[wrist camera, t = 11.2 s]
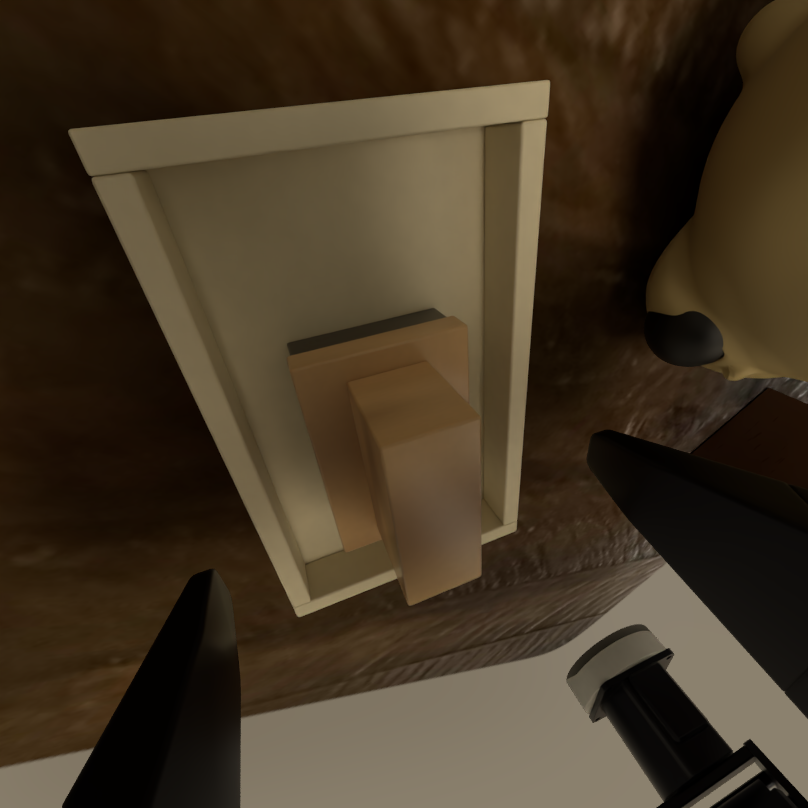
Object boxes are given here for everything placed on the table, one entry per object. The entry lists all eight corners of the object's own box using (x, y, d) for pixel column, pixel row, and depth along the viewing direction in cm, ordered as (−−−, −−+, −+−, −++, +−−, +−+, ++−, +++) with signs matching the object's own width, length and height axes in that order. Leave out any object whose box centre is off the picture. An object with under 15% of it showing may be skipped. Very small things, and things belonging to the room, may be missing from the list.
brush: (448, 471, 14) (519, 574, 11) (332, 511, 13) (368, 639, 10) (437, 302, 11) (536, 371, 7) (280, 339, 10) (308, 440, 6)
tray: (491, 496, 16) (517, 531, 15) (290, 570, 15) (297, 618, 13) (498, 92, 9) (551, 78, 8) (100, 134, 7) (65, 129, 6)
